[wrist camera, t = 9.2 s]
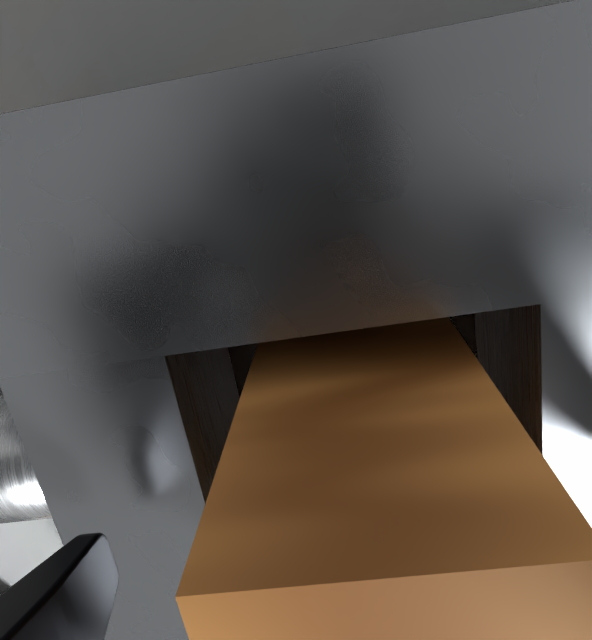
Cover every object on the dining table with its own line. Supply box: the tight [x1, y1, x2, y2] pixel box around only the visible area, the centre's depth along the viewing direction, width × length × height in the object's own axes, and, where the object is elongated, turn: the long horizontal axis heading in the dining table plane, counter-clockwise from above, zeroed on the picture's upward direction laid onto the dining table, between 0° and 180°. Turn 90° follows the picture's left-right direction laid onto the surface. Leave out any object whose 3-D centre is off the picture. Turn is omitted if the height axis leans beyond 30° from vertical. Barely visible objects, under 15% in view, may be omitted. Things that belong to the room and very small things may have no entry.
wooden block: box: [175, 317, 592, 640], centre depth 9 cm, size 4×4×8 cm
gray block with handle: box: [0, 0, 592, 640], centre depth 11 cm, size 20×14×4 cm
